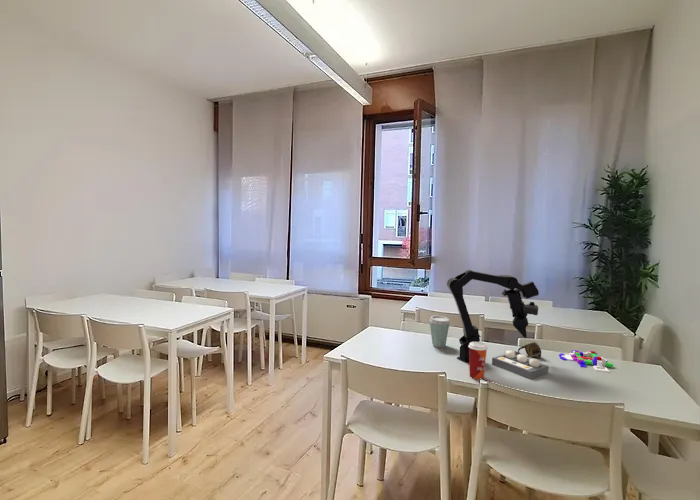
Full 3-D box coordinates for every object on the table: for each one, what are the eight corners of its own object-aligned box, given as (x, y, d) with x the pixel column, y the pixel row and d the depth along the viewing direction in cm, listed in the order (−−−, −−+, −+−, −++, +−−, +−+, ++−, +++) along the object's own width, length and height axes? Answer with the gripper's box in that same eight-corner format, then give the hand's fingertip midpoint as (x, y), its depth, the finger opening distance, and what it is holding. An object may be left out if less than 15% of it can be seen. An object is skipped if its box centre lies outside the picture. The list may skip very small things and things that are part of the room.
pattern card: (527, 370, 165) (527, 369, 165) (496, 358, 178) (497, 358, 178) (532, 368, 167) (532, 367, 167) (502, 357, 180) (502, 356, 179)
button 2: (535, 369, 167) (536, 362, 167) (527, 366, 171) (527, 359, 171) (541, 368, 170) (541, 360, 169) (532, 365, 173) (533, 357, 173)
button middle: (523, 365, 172) (523, 358, 172) (514, 362, 176) (515, 355, 176) (528, 363, 175) (528, 356, 174) (520, 360, 178) (520, 353, 178)
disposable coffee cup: (452, 345, 206) (453, 316, 204) (445, 350, 197) (446, 321, 195) (432, 341, 211) (433, 313, 210) (425, 346, 202) (426, 318, 201)
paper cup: (483, 382, 159) (485, 348, 158) (464, 377, 164) (466, 344, 162) (488, 375, 166) (489, 343, 165) (469, 371, 170) (471, 340, 169)
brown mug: (546, 351, 182) (540, 340, 192) (517, 346, 185) (513, 335, 194) (542, 364, 185) (537, 352, 194) (514, 359, 187) (510, 348, 196)
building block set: (556, 350, 201) (556, 342, 201) (602, 356, 194) (603, 347, 193) (563, 367, 178) (564, 358, 177) (617, 374, 171) (617, 364, 170)
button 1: (511, 360, 178) (511, 353, 177) (503, 358, 181) (503, 351, 181) (516, 359, 180) (516, 352, 179) (508, 356, 183) (509, 349, 183)
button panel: (530, 379, 163) (530, 372, 163) (491, 364, 179) (492, 357, 179) (548, 372, 170) (548, 366, 170) (509, 359, 186) (510, 352, 186)
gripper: (535, 304, 169) (545, 338, 170) (533, 292, 186) (542, 323, 187) (508, 309, 174) (518, 342, 175) (508, 297, 191) (517, 327, 192)
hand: (525, 333), depth 182 cm, fingers open, 9 cm apart
